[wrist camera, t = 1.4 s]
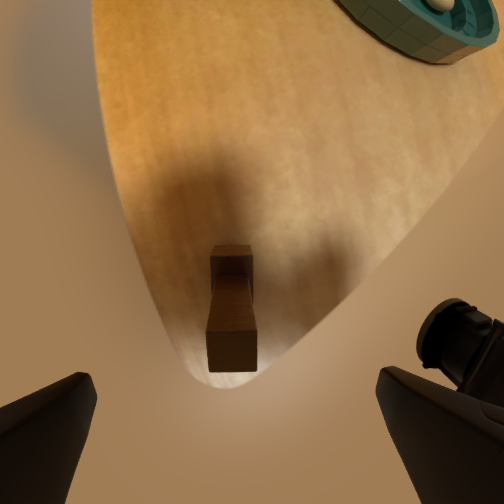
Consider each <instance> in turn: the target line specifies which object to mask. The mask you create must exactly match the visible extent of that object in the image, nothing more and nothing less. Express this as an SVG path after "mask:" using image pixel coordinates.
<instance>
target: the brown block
mask: <svg viewBox="0 0 504 504" xmlns="http://www.w3.org/2000/svg"><path fill="white" fill-rule="evenodd" d="M210 267H211V290H212V300H211V305H210V310H209V315H208V321H207V326H206V332H205V333H206V345H207V357H208V368H209V372H256V371H257V326H256V320H255V314H254V308H253V254H252V251H251V248H250V246H249V245H248V246H214V247H213V250H212V253H211V256H210Z"/></svg>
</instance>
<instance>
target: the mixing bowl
mask: <svg viewBox="0 0 504 504" xmlns="http://www.w3.org/2000/svg"><path fill="white" fill-rule="evenodd" d="M338 1H339V2H340V3H341V4H342V5H343V6H344V7H345V8H346V9H347V10H348V11H349V12H350V13H351V14H352V15H353V16H354V17H355V18H356V19H357V20H358V21H359V22H360V23H361V24H363V25H364V26H365V27H367V28H368V29H369V30H371V31H372V32H373V33H375V34H376V35H377V36H378V37H380V38H381V39H382V40H383V41H385V42H387V43H389V44H390V45H392V46H394V47H396V48H398V49H399V50H401V51H403V52H404V53H406V54H408V55H410V56H413V57H416V58H419V59H422V60H425V61H428V62H431V63H453V62H455V61H457V60H459V59H462V58H464V57H466V56H468V55H470V54H473V53H475V52H477V51H479V50H482V49H484V48H486V47H488V46H490V45H492V44H493V43H495V42H496V41H497V38H498V34H499V31H500V28H499V22H498V16H497V12H496V9H495V7H494V5H493V2H492V0H454V6H453V8H452V9H451V10H449V11H446V12H442V11H438V10H436V9H434V8H432V7H431V6H430V5H429V4H428V3H427V1H426V0H338Z"/></svg>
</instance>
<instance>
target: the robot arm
mask: <svg viewBox="0 0 504 504" xmlns="http://www.w3.org/2000/svg"><path fill="white" fill-rule="evenodd" d="M439 316H440V317H439ZM492 321H493V320H492V319H491V318H490V317H488V316H487V315H485V314H483V313H482V312H480V311H478V310H477V307H475V306H469V305H467V306H461V307H456V308H453V309H452V310H447V311H441V312H437V313H436V314H435V316H434V320H433V325H432V329H431V334H430V338H429V342H428V346H427V349H426V353H425V357H424V360H423V364H422V366H423V368H424V369H429V368H433V367H437V368H438V369H439V370H440V371H441V372H442V373H443V374H445V375H446V376H447V377H448V378H449V379H450V380H451V381H452V382H453V383H454V384H455V385H456V386H457V387H458V388H457V390H456V391H454V390H452V389H449V388H446V387H444V386H441V385H439V384H436V383H434V382H431V381H429V380H426V379H424V378H422V377H419V376H417V375H414V374H412V373H409V372H407V371H405V370H402V369H400V368H397V367H395V366H389V367H384V368H382V369H381V370H380V373H379V378H378V382H377V385H376V397H377V399H378V402H379V405H380V408H381V411H382V414H383V416H384V420H385V422H386V426H387V428H388V431H389V433H390V436H391V438H392V439H393V442H394V444H395V446H396V448H397V450H398V453H399V455H400V457H401V459H402V461H403V463H404V466H405V468H406V470H407V472H408V474H409V476H410V479H411V481H412V483H413V485H414V487H415V490H416V492H417V494H418V497H419V499H420V501H421V504H504V323H503V322H501V321H499V320H497V319H494V321H493V323H492ZM96 402H97V393H96V390H95V387H94V384H93V381H92V378H91V376H90V375H89V374H88V373H83V372H76V373H74V374H72V375H70V376H68V377H66V378H64V379H61V380H59V381H57V382H55V383H53V384H51V385H49V386H47V387H45V388H42V389H40V390H38V391H36V392H34V393H32V394H30V395H27V396H25V397H23V398H21V399H18V400H16V401H14V402H12V403H10V404H7V405H5V406H3V407H1V408H0V504H65V502H66V498H67V495H68V492H69V488H70V485H71V482H72V479H73V476H74V473H75V470H76V467H77V465H78V462H79V459H80V456H81V453H82V450H83V448H84V445H85V442H86V439H87V436H88V433H89V429H90V425H91V421H92V417H93V413H94V409H95V406H96Z"/></svg>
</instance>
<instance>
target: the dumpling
mask: <svg viewBox="0 0 504 504" xmlns="http://www.w3.org/2000/svg"><path fill="white" fill-rule="evenodd" d="M426 1H427V3H428V4H429V5H430V6H431V7H432V8H434V9H436V10H438V11H442V12H446V11H449V10H451V9H452V8H453V6H454V0H426Z"/></svg>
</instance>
